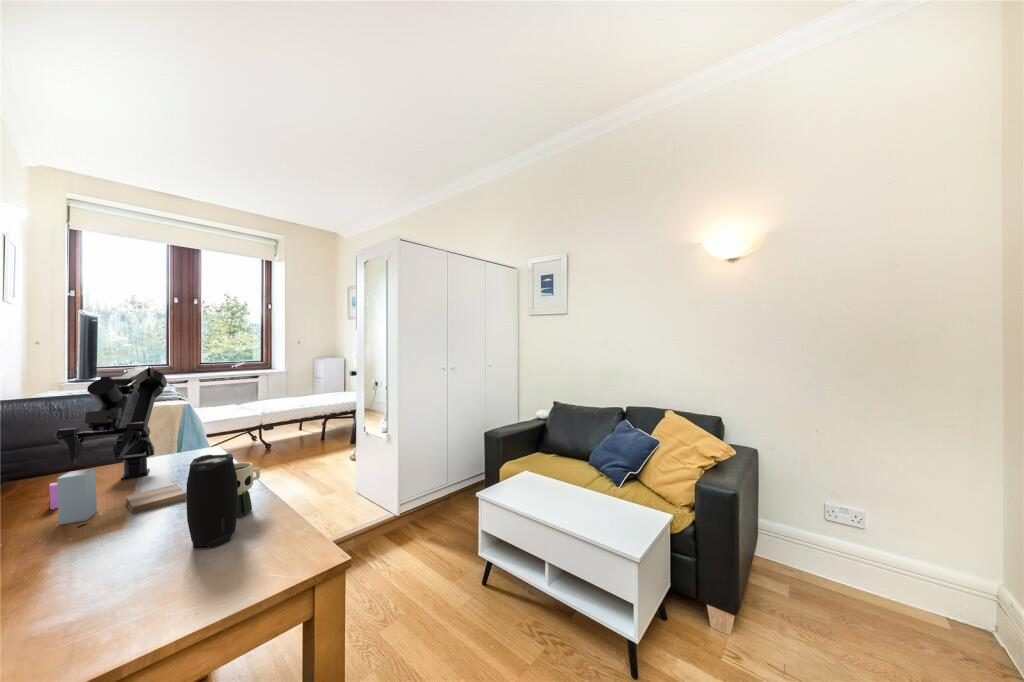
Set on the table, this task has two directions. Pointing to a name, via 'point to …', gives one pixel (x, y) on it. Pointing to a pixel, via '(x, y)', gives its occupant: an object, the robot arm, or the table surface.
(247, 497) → the character mug
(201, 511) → the portable speaker
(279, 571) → the table surface
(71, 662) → the table surface
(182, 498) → the plinth
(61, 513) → the block
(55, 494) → the bracket
